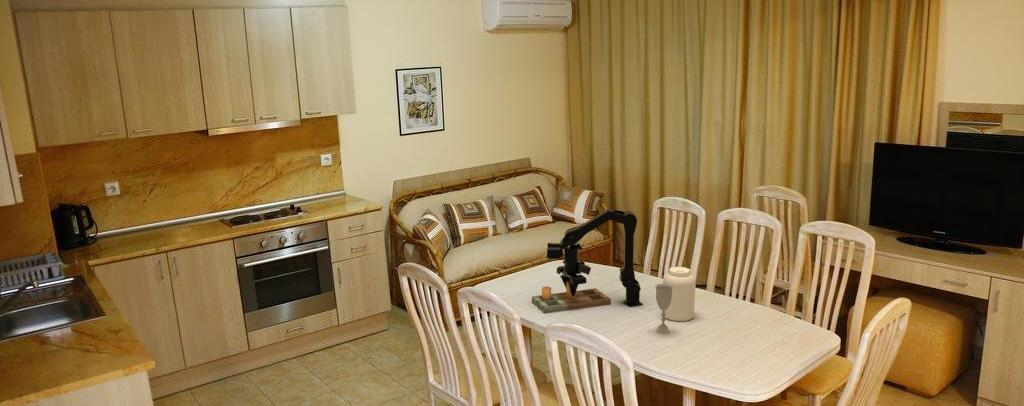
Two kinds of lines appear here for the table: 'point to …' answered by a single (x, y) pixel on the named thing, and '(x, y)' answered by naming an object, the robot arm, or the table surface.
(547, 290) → the model pin
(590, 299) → the pin board
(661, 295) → the chalice
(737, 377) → the table surface
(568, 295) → the orange pin
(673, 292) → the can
